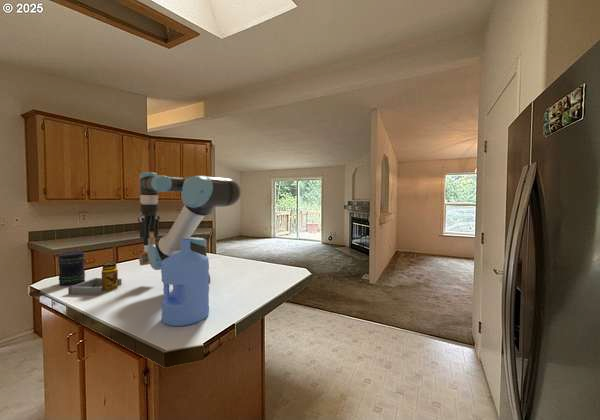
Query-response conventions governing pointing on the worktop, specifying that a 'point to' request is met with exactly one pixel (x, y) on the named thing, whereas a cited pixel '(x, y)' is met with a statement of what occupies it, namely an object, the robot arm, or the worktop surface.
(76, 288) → the tray
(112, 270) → the condiment
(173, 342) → the worktop surface
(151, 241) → the scraper
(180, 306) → the water jug
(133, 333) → the worktop surface
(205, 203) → the robot arm
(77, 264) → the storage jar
